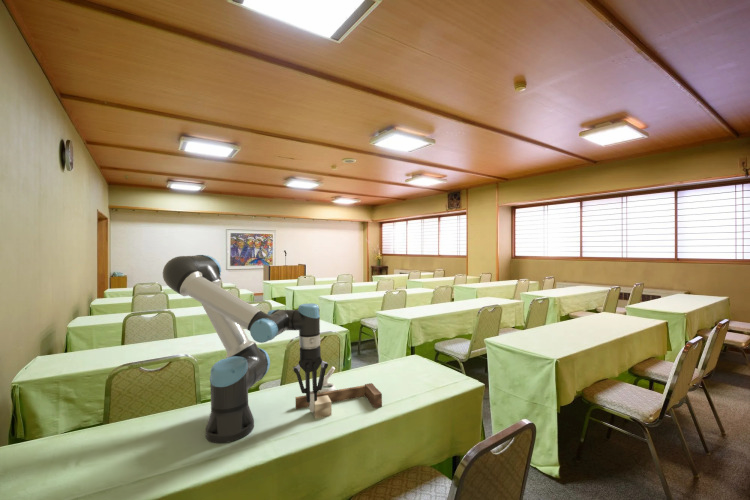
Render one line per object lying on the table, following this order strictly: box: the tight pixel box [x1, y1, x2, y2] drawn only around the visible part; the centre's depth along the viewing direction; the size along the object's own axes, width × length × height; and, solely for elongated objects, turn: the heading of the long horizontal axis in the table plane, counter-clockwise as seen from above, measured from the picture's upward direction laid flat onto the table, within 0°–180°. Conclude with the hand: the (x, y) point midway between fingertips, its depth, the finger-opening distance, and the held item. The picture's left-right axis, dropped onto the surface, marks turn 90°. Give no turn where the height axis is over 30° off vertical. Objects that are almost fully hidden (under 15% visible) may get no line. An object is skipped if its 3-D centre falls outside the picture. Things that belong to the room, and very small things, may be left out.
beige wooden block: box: [312, 395, 333, 419], centre depth 127 cm, size 6×6×5 cm
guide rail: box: [295, 382, 383, 410], centre depth 132 cm, size 32×12×5 cm, turn 111°
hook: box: [318, 366, 336, 393], centre depth 148 cm, size 8×12×7 cm
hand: (311, 410), depth 126 cm, fingers closed
